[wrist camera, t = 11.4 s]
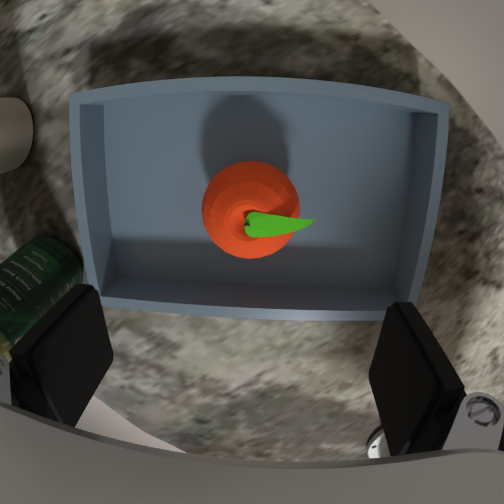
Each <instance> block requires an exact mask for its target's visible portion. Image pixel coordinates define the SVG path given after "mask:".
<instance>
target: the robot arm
mask: <svg viewBox="0 0 504 504" xmlns="http://www.w3.org/2000/svg"><path fill="white" fill-rule="evenodd" d="M9 353H10V355H11V358H12V360H11V361H10V362H9V361H8V360H7V359H6V358H5V357H3V356H1V355H0V504H504V409H503V406H502V405H501V404H500V402H499V401H498V400H497V399H495V398H494V397H492V396H491V395H489V394H485V393H482V392H474V393H471V394H468V395H466V393H465V391H464V385H463V383H462V381H461V380H460V378H459V376H458V374H457V373H456V371H455V369H454V368H453V366H452V364H451V363H450V361H449V359H448V358H447V356H446V354H445V353H444V351H443V349H442V348H441V346H440V345H439V343H438V341H437V340H436V338H435V337H434V335H433V333H432V332H431V330H430V329H429V327H428V326H427V324H426V323H425V321H424V319H423V318H422V316H421V315H420V313H419V312H418V310H417V309H416V307H415V306H414V304H413V303H412V302H394V303H393V304H392V306H389V307H388V308H387V310H386V314H385V318H384V321H383V325H382V329H381V333H380V336H379V340H378V343H377V347H376V350H375V354H374V357H373V360H372V363H371V367H370V370H369V382H370V385H371V388H372V392H373V395H374V398H375V402H376V405H377V409H378V412H379V416H380V419H381V423H382V427H383V428H382V429H381V430H379V431H378V432H377V433H376V434H375V435H374V436H373V437H372V438H371V439H370V441H369V443H368V445H367V454H368V457H369V458H370V459H357V460H343V461H320V462H278V461H256V460H241V459H229V458H219V457H210V456H202V455H194V454H187V453H181V452H175V451H169V450H163V449H158V448H153V447H148V446H143V445H138V444H134V443H129V442H125V441H120V440H117V439H113V438H108V437H105V436H102V435H98V434H94V433H91V432H87V431H84V430H81V429H77V428H75V426H76V424H77V422H78V420H79V419H80V417H81V415H82V413H83V411H84V410H85V408H86V406H87V404H88V403H89V401H90V399H91V397H92V396H93V394H94V392H95V391H96V389H97V387H98V385H99V384H100V382H101V380H102V379H103V377H104V375H105V374H106V372H107V370H108V369H109V367H110V365H111V364H112V361H113V350H112V346H111V343H110V339H109V335H108V331H107V327H106V322H105V318H104V314H103V309H102V305H101V300H100V295H99V292H98V290H95V288H94V286H93V285H88V284H79V283H77V284H76V285H74V286H73V287H72V288H71V289H70V290H69V291H68V292H67V293H66V294H65V295H64V296H63V297H62V298H61V299H60V300H59V301H57V302H56V303H55V304H54V305H53V306H52V307H51V308H50V309H49V310H48V311H47V312H46V313H45V314H44V315H43V316H42V317H41V318H40V319H39V320H38V321H37V322H36V323H35V324H34V325H33V326H32V327H31V328H30V329H29V330H28V331H27V332H26V333H25V335H24V336H23V337H22V338H21V339H20V340H19V341H18V342H17V343H16V344H15V345H14V346H13V347H12V348H11V349H10V350H9Z"/></svg>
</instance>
